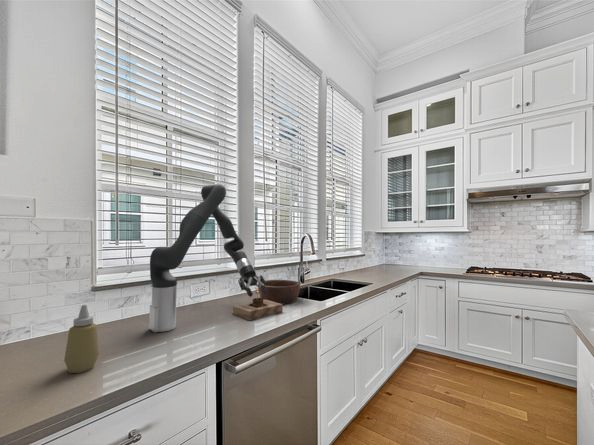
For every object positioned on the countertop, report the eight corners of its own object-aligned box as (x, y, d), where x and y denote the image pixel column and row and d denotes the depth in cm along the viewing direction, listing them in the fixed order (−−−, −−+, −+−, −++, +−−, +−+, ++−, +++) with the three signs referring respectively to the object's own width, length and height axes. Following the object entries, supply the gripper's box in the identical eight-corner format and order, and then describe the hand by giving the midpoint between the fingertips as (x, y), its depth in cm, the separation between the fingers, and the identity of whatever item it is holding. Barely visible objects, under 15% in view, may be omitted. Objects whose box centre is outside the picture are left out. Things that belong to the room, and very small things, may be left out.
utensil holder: (252, 315, 138) (252, 290, 139) (250, 311, 144) (251, 287, 145) (264, 314, 140) (265, 289, 140) (262, 311, 146) (262, 287, 146)
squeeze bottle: (104, 362, 87) (107, 302, 87) (86, 375, 79) (88, 309, 79) (77, 362, 86) (79, 302, 87) (55, 375, 78) (58, 309, 79)
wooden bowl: (307, 299, 174) (307, 282, 174) (284, 308, 153) (284, 288, 153) (274, 294, 187) (274, 278, 188) (248, 301, 166) (248, 283, 167)
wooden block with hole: (249, 320, 130) (249, 311, 130) (232, 314, 140) (232, 305, 140) (282, 312, 144) (282, 304, 144) (264, 307, 154) (265, 299, 154)
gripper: (236, 265, 144) (249, 291, 135) (259, 263, 154) (273, 288, 145) (230, 274, 147) (243, 301, 139) (253, 272, 157) (266, 297, 149)
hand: (258, 294), depth 142 cm, fingers open, 8 cm apart
